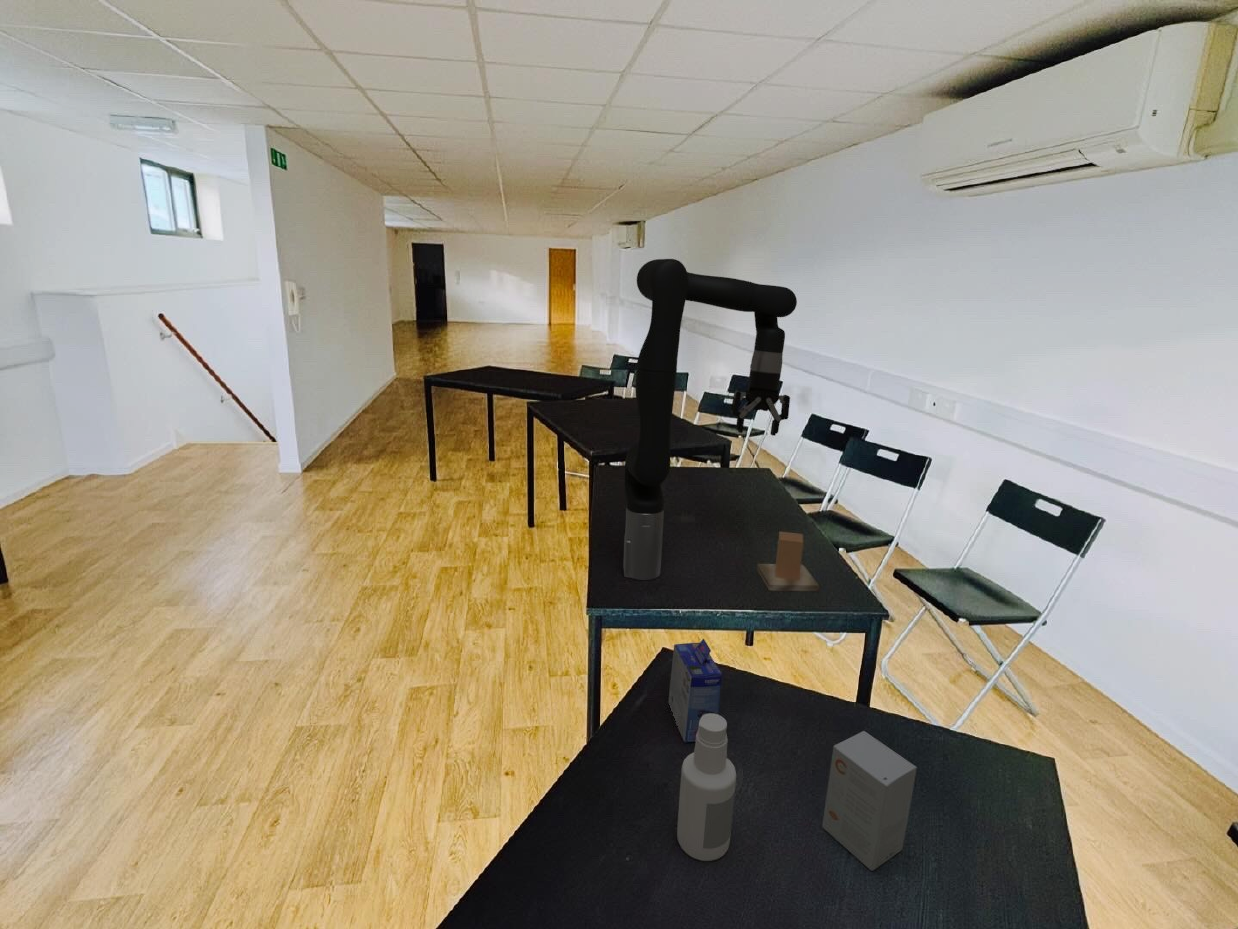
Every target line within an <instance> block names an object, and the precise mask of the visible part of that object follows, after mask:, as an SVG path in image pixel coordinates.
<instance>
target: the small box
mask: <svg viewBox="0 0 1238 929" xmlns="http://www.w3.org/2000/svg"><path fill="white" fill-rule="evenodd" d="M917 769H918V768H917V766H916V765H914V764H913V763H911V762H910V761H909V760H907V759H905V758H904V757H903V756H901V755H900V754H898V753H897V752H895V751H894V750H893V749H891V748H889V747H888V746H887V745H885V744H883V743H882V742H881V741H880V740H878V739H877V738H875V737H873V736H872V735H870V734H869V733H868V732H866V731H865V730H862V731H861V732H859V733H857V734H855V735H853V736H851V737H849V738H847V739H845V740H843V741H841V742H839V743H836V744H833V748H832V754H831V761H830V769H829V776H828V784H827V789H826V795H825V797H826V798H825V803H824V810H823V817H822V823H821V827H822V829H823V830H825V831H826V832H827V833H828V834H829V835H830V836H832V838H833V839H835V840H836V841H837V842H838V843H839V844H840V845H841V846H842V847H844V848H845V849H846V850H847V851H848V852H850V854H852V855H853V856H854V857H855V858H856V859H857V860H858V861H859V862H861V864H863V865H864V866H865V867H866V868H867V869H869V871H871V872H873V871H874V870H876V869H877V868H879V867H880V866H882V865H883V864H885V863H886V862H888V861H889V860H890V859H892V858H893V857H894V856H896V855H897V854H898V853H900V852H901V851H902V850H903V847H904V842H905V837H906V832H907V826H908V820H909V814H910V809H911V803H912V797H913V791H914V785H915V780H916V774H917Z"/></svg>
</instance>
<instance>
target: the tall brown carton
mask: <svg viewBox="0 0 1238 929" xmlns="http://www.w3.org/2000/svg"><path fill="white" fill-rule="evenodd" d="M803 536H804V535H803V533H796V532H795V533H794V532H790V531H788V532H786V531H779V532H778V540H777V550H776V557H775V558H776V560H775V564H776V566H775V577H776V578H784V579H792V580H799V576H800V567H801V564H802V557H803V550H804V537H803Z"/></svg>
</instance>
